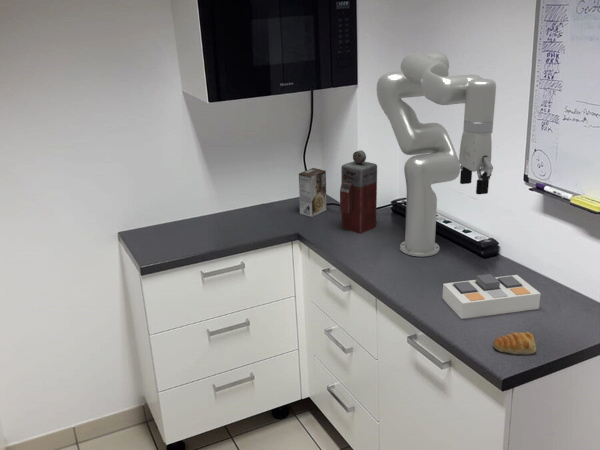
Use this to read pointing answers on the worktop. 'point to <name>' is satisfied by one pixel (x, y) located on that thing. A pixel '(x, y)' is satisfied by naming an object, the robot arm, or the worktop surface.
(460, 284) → the button
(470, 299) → the switch box
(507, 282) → the button
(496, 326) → the worktop surface
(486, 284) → the button
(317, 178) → the coffee box
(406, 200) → the robot arm
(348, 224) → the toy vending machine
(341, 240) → the worktop surface
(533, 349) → the pastry
